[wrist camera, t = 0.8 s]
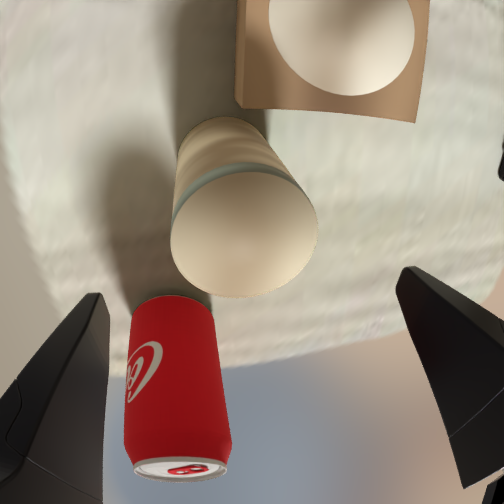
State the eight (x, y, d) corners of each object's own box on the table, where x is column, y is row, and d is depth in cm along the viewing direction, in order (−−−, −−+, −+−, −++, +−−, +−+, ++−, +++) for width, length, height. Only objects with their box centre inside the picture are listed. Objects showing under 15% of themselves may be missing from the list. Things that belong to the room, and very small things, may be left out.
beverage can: (116, 306, 22) (99, 464, 12) (188, 275, 21) (200, 451, 12) (161, 351, 26) (166, 487, 16) (227, 327, 25) (253, 473, 16)
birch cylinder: (271, 115, 16) (328, 171, 10) (266, 199, 19) (307, 291, 13) (175, 118, 15) (162, 177, 9) (180, 203, 18) (178, 303, 12)
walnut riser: (398, -26, 11) (431, -31, 9) (386, 109, 17) (416, 123, 14) (240, -59, 10) (251, -79, 7) (234, 98, 15) (242, 109, 13)
